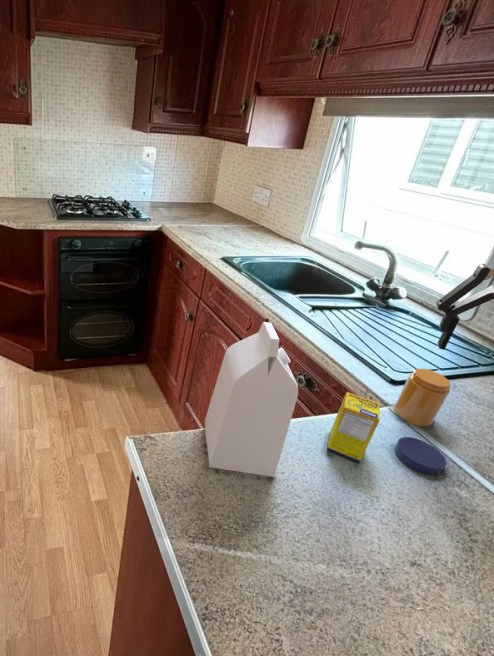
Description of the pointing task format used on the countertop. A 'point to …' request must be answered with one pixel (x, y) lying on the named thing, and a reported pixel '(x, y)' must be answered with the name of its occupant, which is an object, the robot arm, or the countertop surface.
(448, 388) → the jar
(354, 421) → the supplement box
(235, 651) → the countertop surface
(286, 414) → the milk
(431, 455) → the lid
